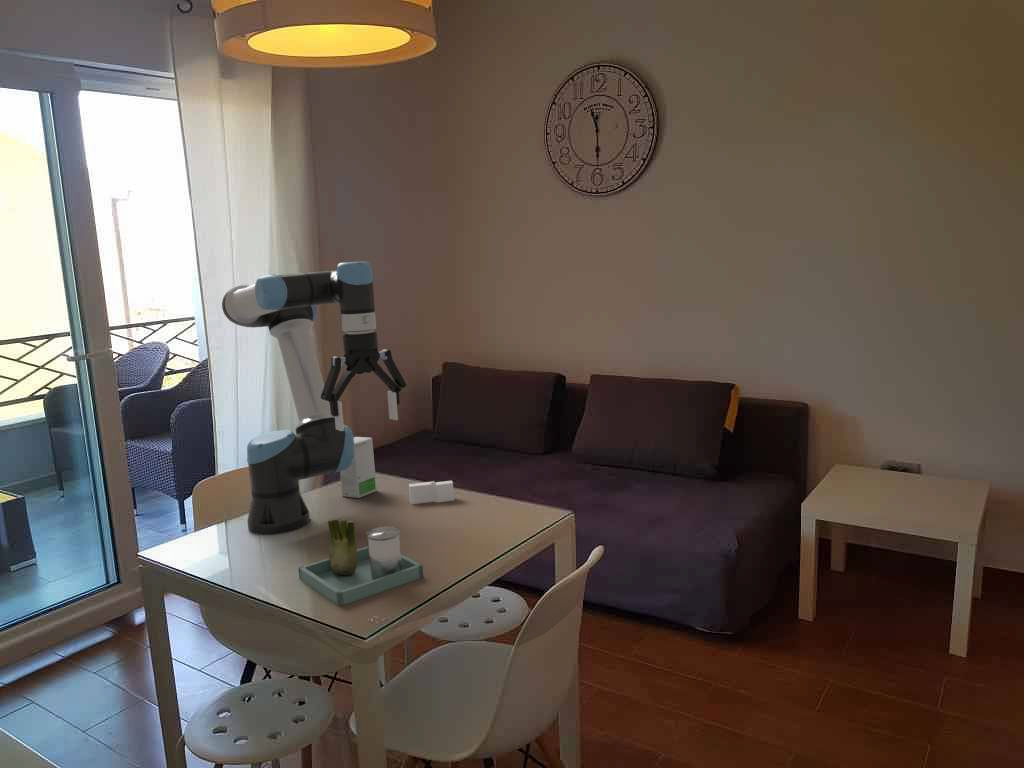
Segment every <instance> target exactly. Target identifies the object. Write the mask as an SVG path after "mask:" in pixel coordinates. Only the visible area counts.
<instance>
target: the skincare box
mask: <svg viewBox="0 0 1024 768" xmlns="http://www.w3.org/2000/svg"><path fill="white" fill-rule="evenodd" d="M353 438H354V457H353V461H352V463H351V465H350V466H349V467H348V468H347V469H345V470H342V471H339V476H340V477H339V478H340V484H341V496H342V497H347V498H353V499H361V498H362V497H366V496H367V495H370V494H372V493H374V492H377V491H378V489H377V488H378V487H377V477H376V468H375V467H376V466H375V458H374V457H375V455H374V444H373V437H365V436H353Z"/></svg>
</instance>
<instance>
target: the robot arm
mask: <svg viewBox="0 0 1024 768" xmlns="http://www.w3.org/2000/svg"><path fill="white" fill-rule="evenodd" d="M371 265H372V264H370V262H368V261H364V260H363V261H345V262H339V263H338V264H337V266H336V269H331V270H330V269H329V270H324V271H313V272H312V271H311V272H301V273H285V274H275V273H274V274H269V275H263V276H260V277H257V279H256V282H255V283H246V284H241V285H237V286H234V287H233V288H232V287H231V288H230V289H229V290H228V291H227V292H225V294H224V296H223V298H222V302H221V309H222V313H223V315H224V316H225V317H226V318H227V320H228V321H230V322H231V323H233V324H235V325H237V326H241V327H245V328H263V327H265V328H266V327H268V331H269V334H270V335H271V337H273V338H276V339H277V342H278V346H279V349H280V353H281V357H282V360H283V364H284V369H285V373H286V376H287V380H288V384H289V387H290V391H291V394H292V399H293V402H294V406H295V407H294V408H295V410H296V414H297V417H298V424H297V425H296V427H295V433H296V434H295V433H294V431H293V430H291V429H279V430H273V431H268V432H265V433H263V434H259V435H257V436H255V437H254V438H252V439H251V440H249V442H248V443H247V447H246V450H247V451H246V453H247V455H246V456H247V458H246V462H247V465H248V474H249V479H250V480H249V482H250V491H251V504H250V507H249V512H248V515H247V529H248V531H249V532H250V533H253V534H257V535H277V534H285V533H288V532H289V533H290V532H293V531H296V530H299V529H300V528H304V527H305V526H306V525H308V524H309V523H310V521H311V519H310V517H311V516H310V511H309V509H308V508H309V507H307V505H306V502H305V500H304V498H303V495H302V494H301V491H300V481H301V480H304V479H311V478H315V477H320V476H325V475H329V474H336V473H339V472H340V471H342V470H345V469H347V468H348V467H349V466H350V465H351V463H352V461H353V457H354V438H353V437H354V435H353V431H352V429H351V428H350V426H348V425H345V423H344V414H343V413H344V412H343V403H342V401H339V400H340V398H341V396H342V395H343V393H344V392H345V390H346V389H347V387H348V386H349V383H350V382H351V380H353V379H352V378H354V377H355V376H356V374H357V375H361V374H364V373H367V374H369V373H372V372H373V373H374V374H375V375H376V376H377V377H378V378H379V379H380V380H381V381H382V383H384V384H385V385H386V386H387V387H388V389H389V390H388V391H387V392H386V393H387V404H388V405H387V406H388V419H389V420H393V421H398V420H399V416H398V405H400V403H401V402H400V392H401V391H402V389H404V388H406V387H407V382H406V381H405V380H404V378H403V376H402V374H401V372H400V370H399V368H398V367H397V365H396V363H395V361H394V359H393V356H392V351H391V350H389V349H387V348H386V349H381V350H380V351H379V349H378V347H379V344H378V334H377V333H378V332H377V331H375V330H376V329H377V320H376V319H377V317H376V309H375V294H374V293H375V292H374V275H373V272H372V270H373V269H372V266H371ZM334 304H335V305H336V304H339V308H340V317H341V318H340V321H341V331H342V332H344V333H343V334H342V343H343V349H344V351H343V352H344V355H343V356H334V355H332V356H331V359H330V360H331V361H330V362H331V363H330V365H331V366H330V369H329V372H328V374H327V377H326V380H325V382H324V379H323V376H322V372H321V370H320V369H321V368H320V364H319V362H318V357H317V354H316V350H315V346H314V343H313V339H312V336H311V332H310V331H311V329H312V328H313V326H314V321H315V320H316V318H317V316H318V315H317V314H318V309H317V306H325V305H334ZM380 359H381V360H382V362H383V363H384V365H385V367H386V369H387V370H388V372H389V374H390V376H389V374H387V373H386V372H385V371H384V370H383V368H382V366H381V365H379V363H378V362H379V360H380ZM344 364H345V365H346V367H345V368H344V370H343V373H342V375H341V377H340V378H339V380H338V377H339V375H340V372H341V369H342V367H343V366H344ZM391 377H392V378H391Z"/></svg>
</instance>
